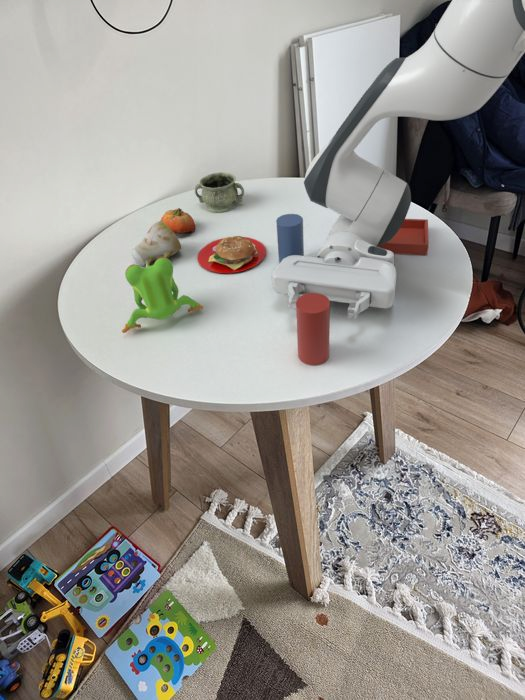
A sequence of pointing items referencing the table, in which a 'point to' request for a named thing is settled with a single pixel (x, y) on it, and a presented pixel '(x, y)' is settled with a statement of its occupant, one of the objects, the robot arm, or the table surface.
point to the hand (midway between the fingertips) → (321, 309)
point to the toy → (155, 292)
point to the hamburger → (231, 254)
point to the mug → (156, 245)
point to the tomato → (178, 221)
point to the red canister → (313, 328)
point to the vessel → (219, 192)
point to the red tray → (409, 238)
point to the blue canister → (290, 235)
